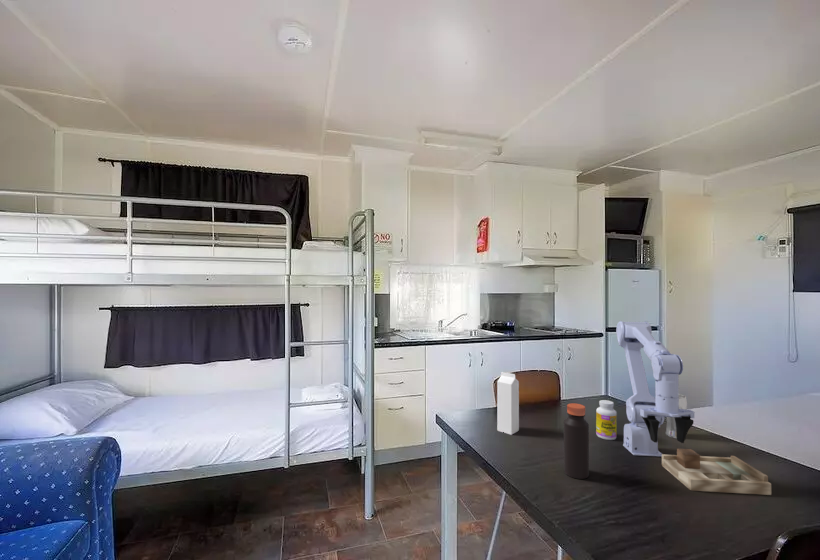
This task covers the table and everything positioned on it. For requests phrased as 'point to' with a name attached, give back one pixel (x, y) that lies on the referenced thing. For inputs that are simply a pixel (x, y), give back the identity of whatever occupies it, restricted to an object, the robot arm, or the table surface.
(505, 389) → the milk
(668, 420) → the beer glass
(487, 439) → the table surface
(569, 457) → the vinegar
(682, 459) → the walnut block
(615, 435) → the supplement bottle
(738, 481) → the tray
